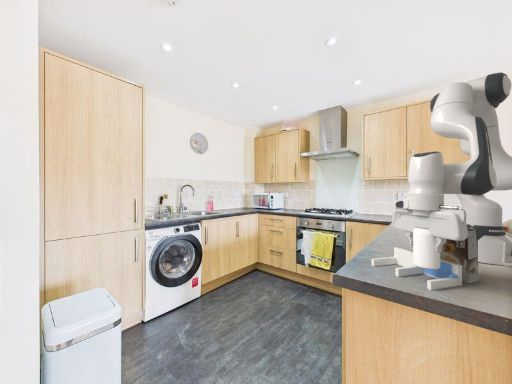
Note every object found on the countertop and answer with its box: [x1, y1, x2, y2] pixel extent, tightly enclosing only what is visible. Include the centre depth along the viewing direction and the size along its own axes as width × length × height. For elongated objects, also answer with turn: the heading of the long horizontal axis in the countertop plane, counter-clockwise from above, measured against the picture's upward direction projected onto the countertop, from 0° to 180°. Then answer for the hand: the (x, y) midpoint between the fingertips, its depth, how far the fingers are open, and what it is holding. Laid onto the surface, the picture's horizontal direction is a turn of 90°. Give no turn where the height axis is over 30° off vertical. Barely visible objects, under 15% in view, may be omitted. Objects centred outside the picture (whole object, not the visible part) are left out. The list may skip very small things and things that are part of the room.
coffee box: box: [440, 228, 479, 284], centre depth 69 cm, size 9×6×16 cm
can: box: [412, 227, 440, 270], centre depth 65 cm, size 6×6×12 cm
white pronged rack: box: [371, 246, 463, 291], centre depth 71 cm, size 12×21×6 cm, turn 15°
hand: (424, 249), depth 66 cm, fingers closed on can, 5 cm apart
